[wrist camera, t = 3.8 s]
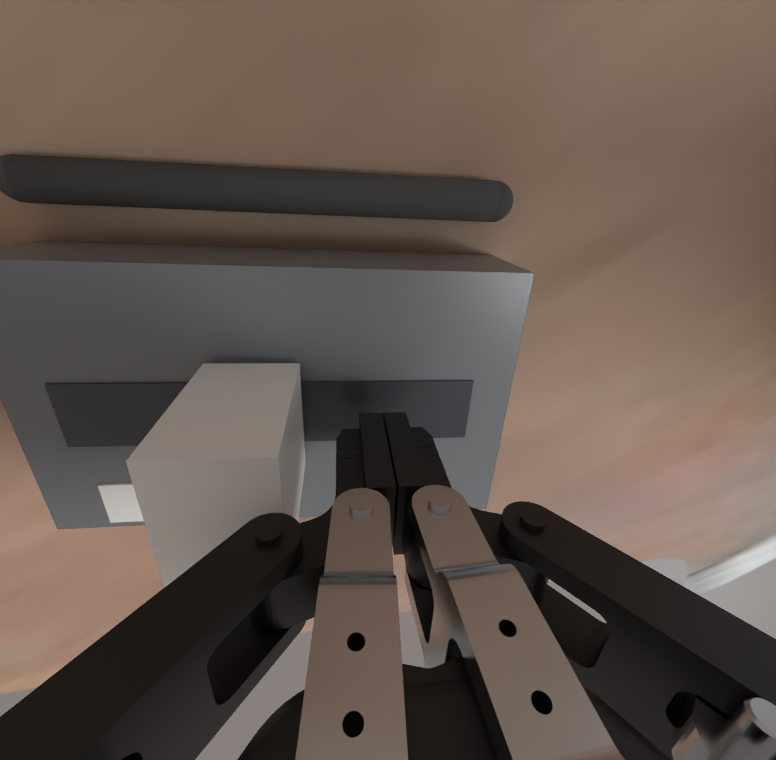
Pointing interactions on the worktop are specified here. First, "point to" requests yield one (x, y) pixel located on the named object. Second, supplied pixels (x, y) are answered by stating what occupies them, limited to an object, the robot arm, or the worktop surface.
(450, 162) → the worktop surface
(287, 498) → the handle
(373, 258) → the breaker panel
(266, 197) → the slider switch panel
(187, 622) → the robot arm
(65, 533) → the worktop surface
